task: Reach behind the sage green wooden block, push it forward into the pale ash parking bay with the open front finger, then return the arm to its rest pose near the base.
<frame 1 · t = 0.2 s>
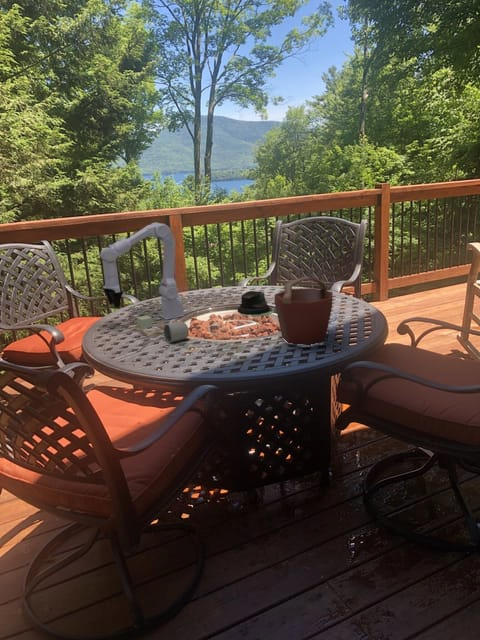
hand: (114, 305, 215), 10 cm above the table, tool pointing down, fingers open, 7 cm apart
dark fedora hat: (254, 311, 235), on the table
sage block: (145, 326, 218), on the table
parking bay: (153, 331, 210), on the table
bucket: (303, 340, 192), on the table
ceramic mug: (174, 340, 198), on the table
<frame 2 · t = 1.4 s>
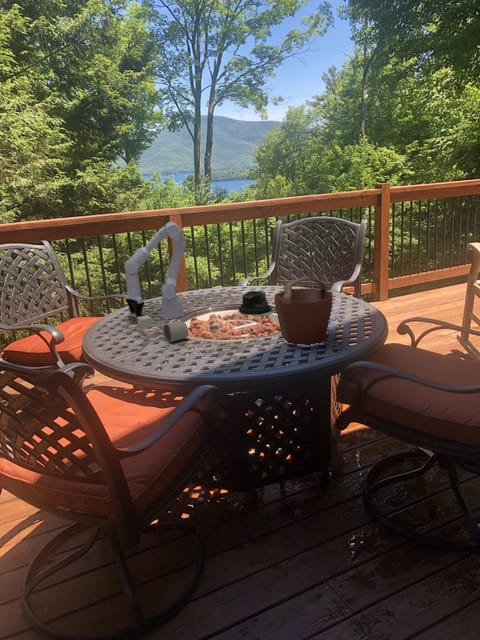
hand: (136, 315, 226), 2 cm above the table, tool pointing down, fingers open, 7 cm apart
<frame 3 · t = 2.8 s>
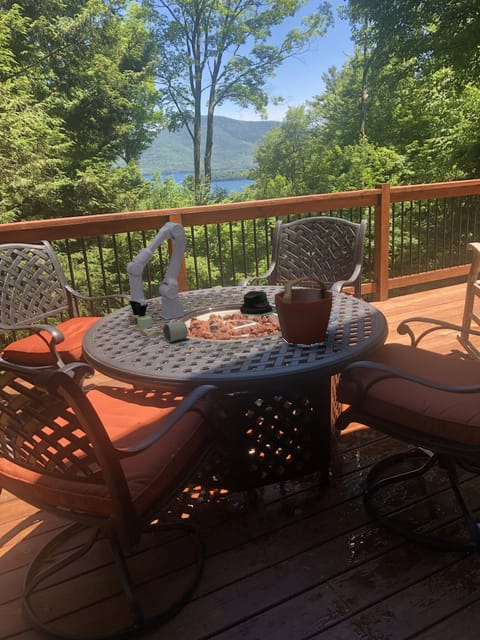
hand: (139, 317, 222), 2 cm above the table, tool pointing down, fingers open, 7 cm apart
sage block: (145, 326, 217), on the table, touching gripper
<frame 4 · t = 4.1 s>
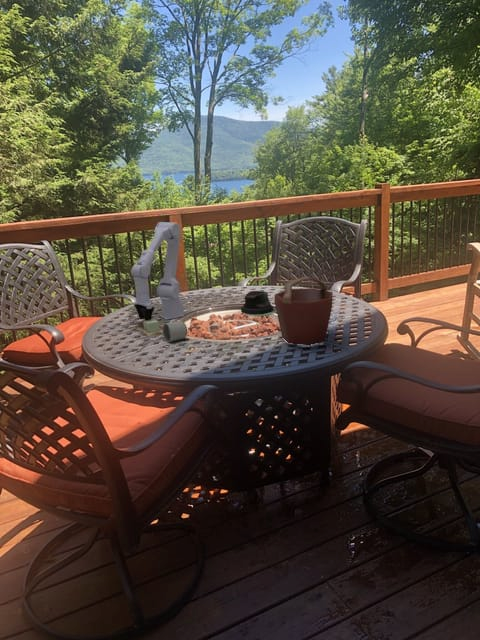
hand: (145, 321, 216), 2 cm above the table, tool pointing down, fingers open, 7 cm apart
sage block: (151, 330, 211), on the table, touching gripper
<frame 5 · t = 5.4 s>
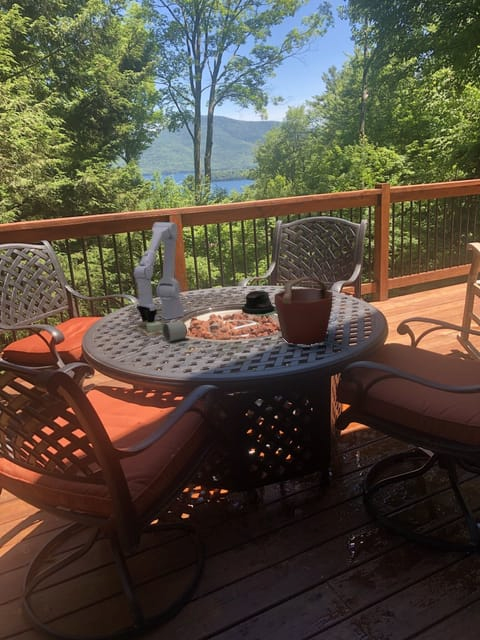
hand: (148, 322, 213), 2 cm above the table, tool pointing down, fingers open, 7 cm apart
sage block: (154, 332, 208), on the table, touching gripper
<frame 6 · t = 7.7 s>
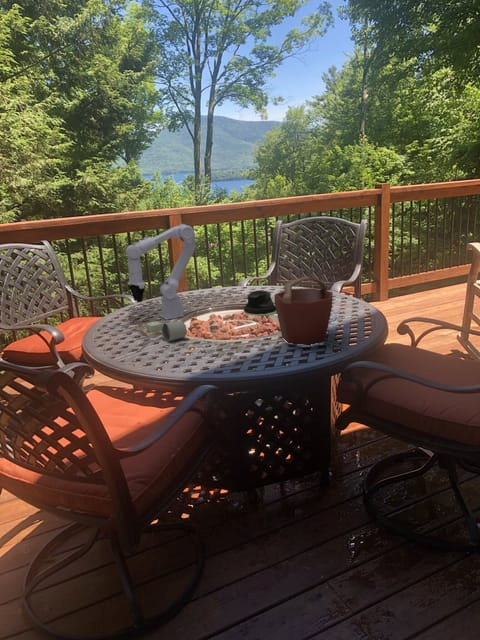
hand: (138, 301, 223), 9 cm above the table, tool pointing down, fingers open, 3 cm apart
sage block: (154, 332, 208), on the table
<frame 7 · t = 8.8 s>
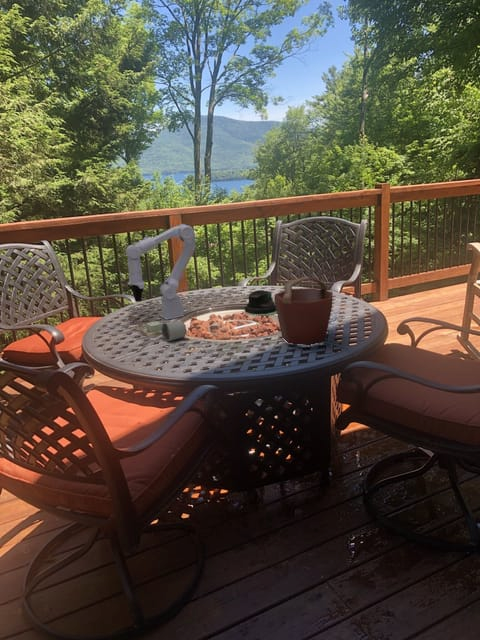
hand: (138, 301, 223), 9 cm above the table, tool pointing down, fingers closed
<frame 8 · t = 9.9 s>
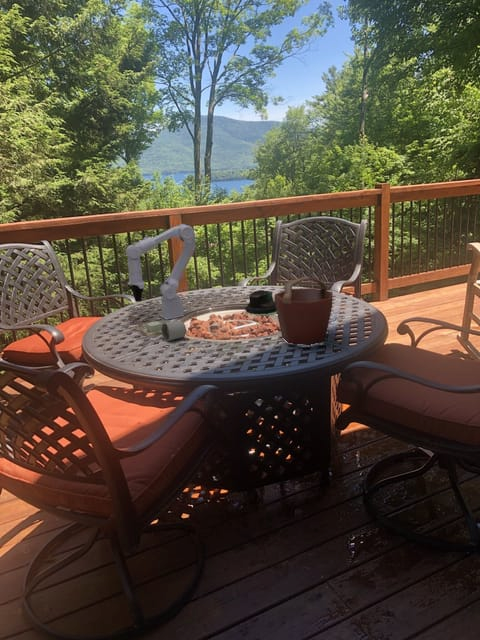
hand: (138, 301, 223), 9 cm above the table, tool pointing down, fingers closed
at the end: sage block inside the target area on the parking bay (1.6 cm from its centre), point 0.0 cm above the parking bay's base; sage block tilted 0°; the gripper is holding nothing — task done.
